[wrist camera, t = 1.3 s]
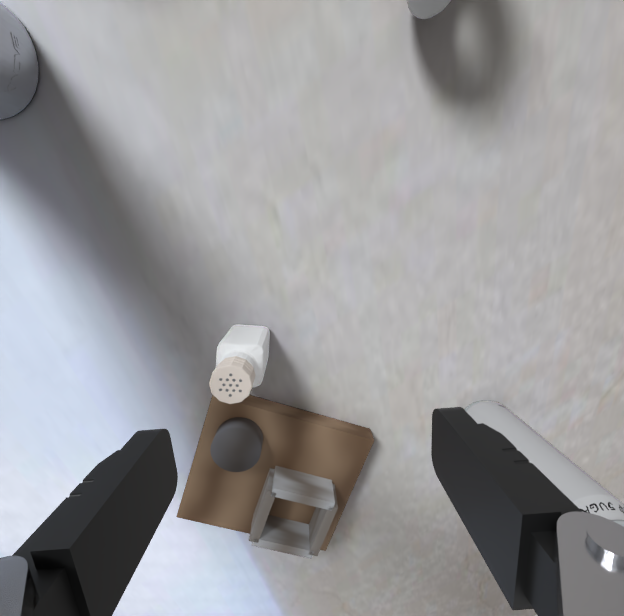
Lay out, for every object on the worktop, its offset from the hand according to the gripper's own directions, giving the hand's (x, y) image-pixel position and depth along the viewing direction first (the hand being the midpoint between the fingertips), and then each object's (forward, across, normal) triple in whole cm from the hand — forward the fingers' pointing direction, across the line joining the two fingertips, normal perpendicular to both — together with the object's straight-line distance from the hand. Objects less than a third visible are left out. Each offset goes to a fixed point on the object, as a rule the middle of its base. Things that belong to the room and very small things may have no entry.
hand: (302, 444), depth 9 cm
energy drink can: (+23, -20, +16) cm, 34 cm away
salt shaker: (+22, +6, +4) cm, 23 cm away
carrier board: (+22, +5, +20) cm, 30 cm away
